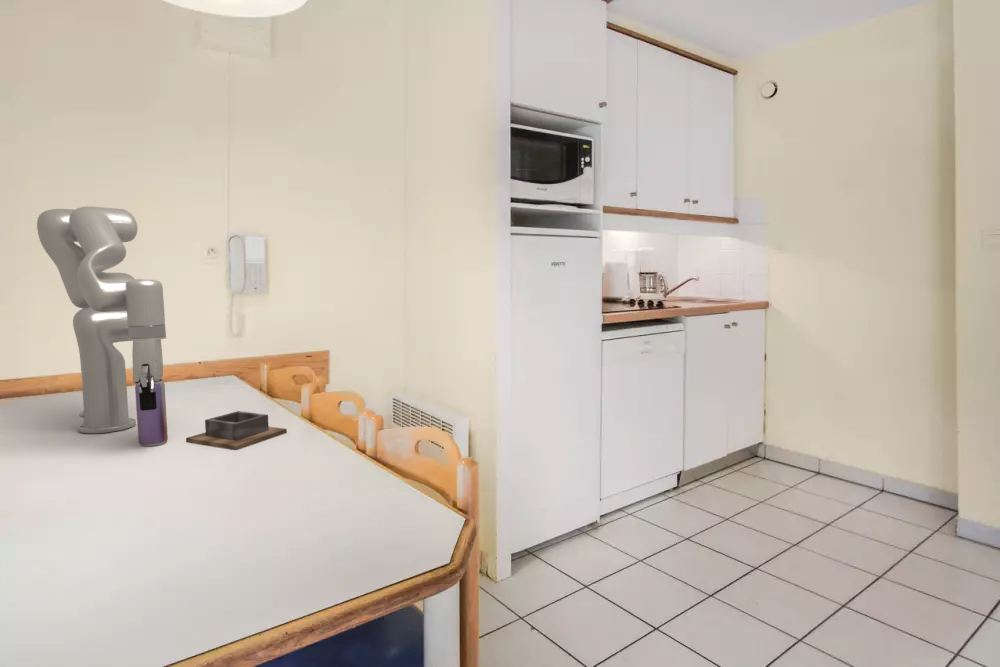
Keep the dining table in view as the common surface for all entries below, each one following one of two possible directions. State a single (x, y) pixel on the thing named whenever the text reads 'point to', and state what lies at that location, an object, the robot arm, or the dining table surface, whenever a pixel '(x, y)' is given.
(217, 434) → the can holder
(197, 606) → the dining table surface
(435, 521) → the dining table surface
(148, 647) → the dining table surface
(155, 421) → the beverage can
